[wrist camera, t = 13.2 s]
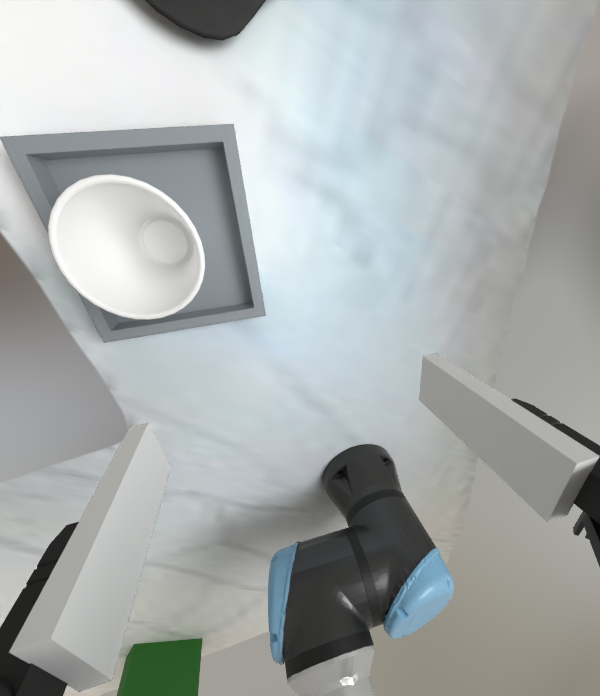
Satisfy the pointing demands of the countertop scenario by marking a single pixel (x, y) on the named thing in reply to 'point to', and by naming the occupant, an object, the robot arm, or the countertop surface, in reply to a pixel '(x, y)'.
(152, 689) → the hardback book
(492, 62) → the countertop surface
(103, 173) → the tray
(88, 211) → the cup
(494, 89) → the countertop surface
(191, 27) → the casserole
